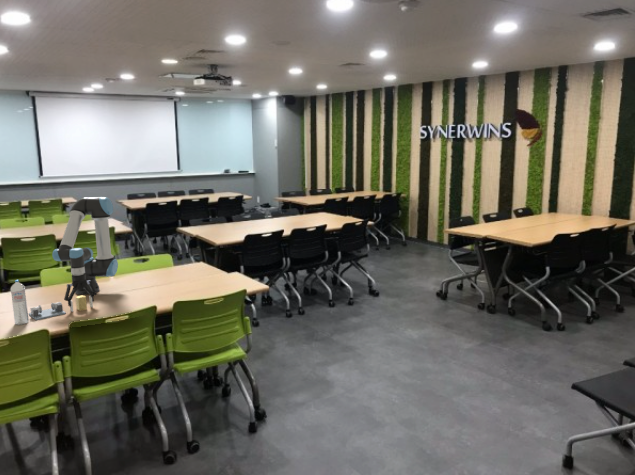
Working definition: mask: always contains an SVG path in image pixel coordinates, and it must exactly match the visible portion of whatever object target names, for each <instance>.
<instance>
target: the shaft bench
mask: <svg viewBox="0 0 635 475" xmlns="http://www.w3.org/2000/svg"><path fill="white" fill-rule="evenodd" d="M29 310H30V312H28V316H30V317H31V318H32V319H33V320H35V321H40V320H44V319H45V320H46V319H49V318H53V316H54V317H57V315H58V316H62V315H65V314H67V313H66V311H64V307H63V303H62V302H61V301H58V302H51V303H50V308H47V309H43V308H42V306H41V305H38V306H35V307H34V306H33V307H30V309H29Z"/></svg>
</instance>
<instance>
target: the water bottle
mask: <svg viewBox="0 0 635 475" xmlns="http://www.w3.org/2000/svg"><path fill="white" fill-rule="evenodd" d="M19 280H20V279H16V280H15V279H14V282H15V283H13V284H12V285H11V286H10V292H11V301H12V302H11V303H12V312H13V319H14V324H15V325H17V326H22V325H25V324H28V323H29V311H28V303H27V296H26V286H25V285H24V284H23V283H21V282H20V281H19Z"/></svg>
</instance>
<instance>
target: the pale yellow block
mask: <svg viewBox="0 0 635 475" xmlns="http://www.w3.org/2000/svg"><path fill="white" fill-rule="evenodd" d="M75 306H76V310H77V311H79V312H80V311H85V310H88V307H87V306H88V305H87V296H86V295H85V294H80V295H78V296H75Z"/></svg>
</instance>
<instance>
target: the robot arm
mask: <svg viewBox="0 0 635 475" xmlns="http://www.w3.org/2000/svg"><path fill="white" fill-rule="evenodd" d="M113 213H114V205H113V203H112V201H111V199H110V198H109V197H107V196H106V197H105V196H93V197H89V196H85V197H82V198H80V199H78V200H77V201H76V202H75V203H74V204H73V205H72V207H71V208H70V210H69V213H68V215H69V218H68V221H67V224H66V226H65V230H64V233H63V236H62V239H61V242H60V245H59V247H58V248H55V249H54V250H52V255H51V256H52V259H53V260H54V261H56V262H70V272H71V273H70V274H71V283H66V291H65V294H64V298H63V299H64V301H66V302H67V304H68V305H67V306H68V307H69V308H70V310H69V311H71V312H74V303H73V300H72V299H73V297H74V296H75V294H77V295H89V296H88V297H89V298H88V300H89V307H90V308H94V304H93V303H94V302H95V296H96V295H97V293H98V292H99V291H100V285H99V284H98V281H97V279H96V278H97V277H98V278H99V277H100V278H101V277H114V276H115V275H116V274H117V272H118V267H119V266H118V265H119V262H118V260H117V259H116V258H115V257H114V256H115V255H113V254H112V248H111V247H112V246H111V238H110V237H111V236H110V227H109V226H110V223H109V220H110V218H111V215H112V214H113ZM87 215H88V216H90V215H91V219H92V220H94V232H95V233H94V234H95V243H96V252H97V253H96V256H95V258H94V257H93V256H94V251H93V250H92V248H91V247H83V248H81V247H76V248H75V247H74V245H75V243H76V241H77V240H76V239H77V236H78V233H79V230H80V229H81V228H80V227H81V224H82V222H83V220H84V219H85V218H86V216H87ZM72 287H73V288H72ZM71 288H72V290H71Z"/></svg>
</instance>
